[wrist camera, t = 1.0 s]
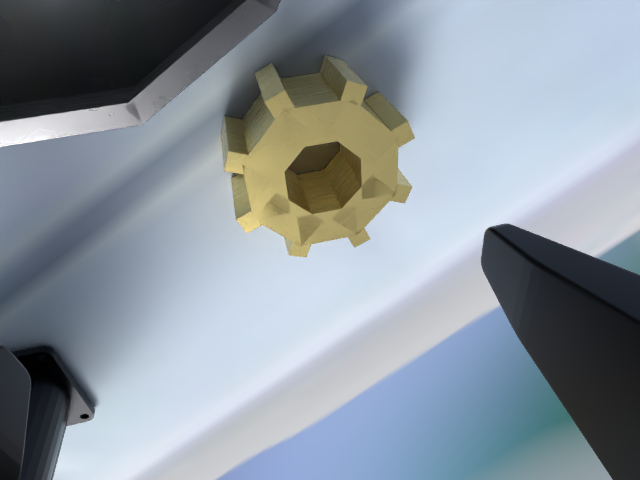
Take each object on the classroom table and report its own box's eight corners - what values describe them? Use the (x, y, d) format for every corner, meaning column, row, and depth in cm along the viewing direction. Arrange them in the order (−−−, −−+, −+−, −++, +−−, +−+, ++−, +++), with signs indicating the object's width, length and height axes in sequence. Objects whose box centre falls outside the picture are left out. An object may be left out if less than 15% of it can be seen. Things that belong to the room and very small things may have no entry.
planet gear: (384, 197, 23) (409, 236, 20) (241, 224, 22) (247, 269, 19) (385, 45, 18) (418, 69, 16) (206, 71, 17) (207, 102, 15)
